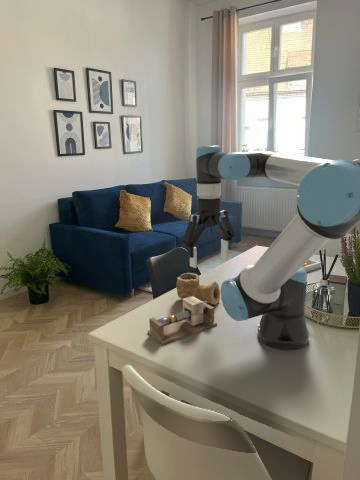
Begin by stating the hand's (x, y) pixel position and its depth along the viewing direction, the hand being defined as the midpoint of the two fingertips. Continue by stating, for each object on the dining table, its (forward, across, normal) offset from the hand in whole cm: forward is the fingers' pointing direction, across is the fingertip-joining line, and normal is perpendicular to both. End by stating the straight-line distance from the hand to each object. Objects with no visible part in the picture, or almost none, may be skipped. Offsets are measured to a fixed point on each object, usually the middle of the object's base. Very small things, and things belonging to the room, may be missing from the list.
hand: (209, 262), depth 118 cm
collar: (+19, +7, 0) cm, 20 cm away
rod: (+17, +11, 0) cm, 20 cm away
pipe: (+20, -5, -14) cm, 25 cm away
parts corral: (+20, -67, -18) cm, 72 cm away
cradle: (+20, +11, 0) cm, 23 cm away
